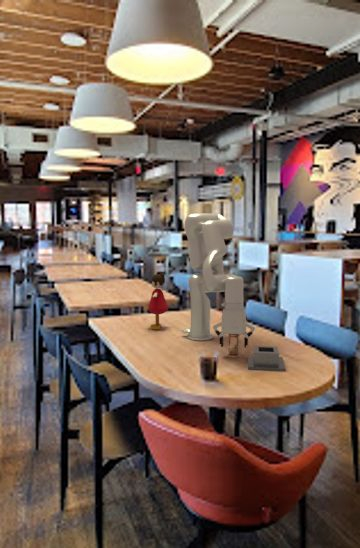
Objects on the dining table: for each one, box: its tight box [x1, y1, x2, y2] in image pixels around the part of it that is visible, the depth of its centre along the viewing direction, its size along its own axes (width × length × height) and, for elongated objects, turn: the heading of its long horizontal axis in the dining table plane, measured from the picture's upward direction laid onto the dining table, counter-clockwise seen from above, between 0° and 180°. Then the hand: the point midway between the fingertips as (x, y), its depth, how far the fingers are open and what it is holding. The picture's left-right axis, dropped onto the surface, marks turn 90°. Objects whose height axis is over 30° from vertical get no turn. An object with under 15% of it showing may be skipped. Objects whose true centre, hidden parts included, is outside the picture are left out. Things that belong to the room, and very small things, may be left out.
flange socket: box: [247, 345, 286, 372], centre depth 167 cm, size 14×14×6 cm
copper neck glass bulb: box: [227, 334, 240, 359], centre depth 177 cm, size 5×5×10 cm
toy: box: [147, 272, 169, 330], centre depth 222 cm, size 27×11×30 cm, turn 178°
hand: (233, 346), depth 177 cm, fingers open, 9 cm apart
